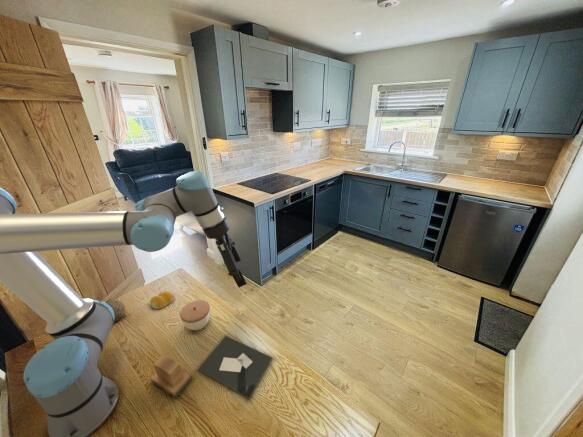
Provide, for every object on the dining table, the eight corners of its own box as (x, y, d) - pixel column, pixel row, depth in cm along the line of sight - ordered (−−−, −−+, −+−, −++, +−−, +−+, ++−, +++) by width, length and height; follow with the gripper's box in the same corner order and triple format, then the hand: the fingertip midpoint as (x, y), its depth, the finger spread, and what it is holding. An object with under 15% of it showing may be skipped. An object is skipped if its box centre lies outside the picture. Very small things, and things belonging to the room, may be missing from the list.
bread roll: (177, 299, 107) (175, 292, 105) (157, 312, 100) (155, 305, 98) (167, 292, 111) (165, 285, 109) (147, 303, 104) (145, 296, 102)
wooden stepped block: (152, 383, 74) (146, 365, 70) (169, 366, 79) (163, 348, 75) (175, 398, 70) (169, 380, 67) (191, 379, 75) (186, 361, 72)
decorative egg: (105, 317, 97) (97, 298, 93) (125, 308, 101) (118, 290, 97) (107, 328, 92) (99, 309, 88) (129, 318, 97) (122, 299, 92)
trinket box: (216, 314, 99) (213, 297, 95) (205, 336, 89) (201, 318, 85) (191, 312, 100) (187, 295, 96) (178, 334, 90) (173, 316, 86)
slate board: (198, 370, 78) (197, 369, 77) (226, 337, 89) (225, 335, 89) (249, 399, 70) (249, 398, 70) (272, 359, 82) (272, 357, 81)
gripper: (228, 236, 61) (256, 291, 71) (222, 202, 82) (244, 249, 93) (200, 248, 60) (233, 302, 70) (201, 211, 81) (226, 257, 91)
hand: (239, 272), depth 81 cm, fingers open, 13 cm apart
